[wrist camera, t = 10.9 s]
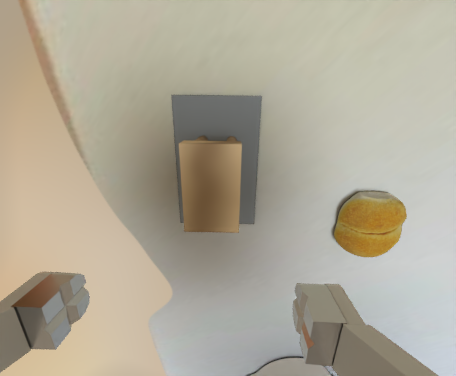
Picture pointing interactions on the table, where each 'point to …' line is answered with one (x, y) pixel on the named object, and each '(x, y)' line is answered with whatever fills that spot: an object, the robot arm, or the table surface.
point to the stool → (211, 184)
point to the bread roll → (370, 223)
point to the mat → (222, 136)
